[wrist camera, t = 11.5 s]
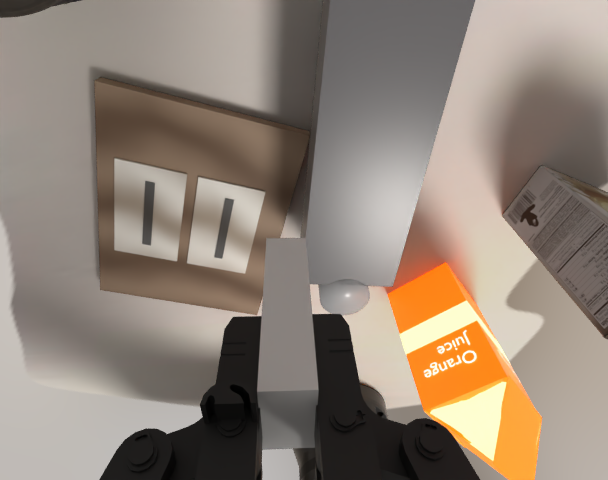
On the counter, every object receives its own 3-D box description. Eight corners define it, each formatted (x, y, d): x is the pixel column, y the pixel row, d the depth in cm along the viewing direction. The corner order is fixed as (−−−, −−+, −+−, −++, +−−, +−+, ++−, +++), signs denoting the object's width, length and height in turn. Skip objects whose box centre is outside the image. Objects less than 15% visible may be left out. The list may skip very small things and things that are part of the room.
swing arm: (296, 280, 39) (297, 314, 35) (325, -31, 24) (333, -30, 20) (374, 283, 40) (384, 316, 36) (450, -19, 25) (479, -16, 21)
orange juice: (421, 332, 50) (488, 513, 33) (386, 294, 45) (443, 479, 29) (478, 304, 47) (581, 485, 31) (447, 260, 43) (546, 443, 27)
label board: (318, 317, 47) (320, 338, 45) (104, 282, 42) (92, 303, 40) (389, 151, 35) (397, 167, 32) (100, 77, 30) (83, 87, 28)
